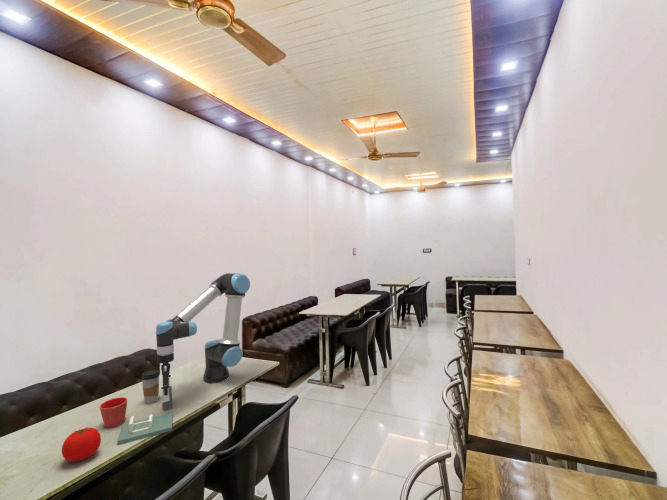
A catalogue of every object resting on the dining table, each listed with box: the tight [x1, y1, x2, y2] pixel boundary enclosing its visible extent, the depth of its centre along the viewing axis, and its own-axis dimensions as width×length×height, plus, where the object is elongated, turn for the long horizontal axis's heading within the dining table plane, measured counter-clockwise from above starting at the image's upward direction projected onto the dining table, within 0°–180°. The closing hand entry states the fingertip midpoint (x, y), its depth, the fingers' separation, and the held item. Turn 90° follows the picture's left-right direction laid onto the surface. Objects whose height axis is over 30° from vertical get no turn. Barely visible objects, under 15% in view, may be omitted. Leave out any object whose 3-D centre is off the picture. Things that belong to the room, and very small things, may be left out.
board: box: [116, 411, 173, 446], centre depth 142 cm, size 20×15×6 cm
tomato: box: [61, 426, 102, 463], centre depth 124 cm, size 12×12×10 cm
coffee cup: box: [141, 369, 160, 404], centre depth 170 cm, size 8×8×15 cm
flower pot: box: [99, 396, 128, 429], centre depth 149 cm, size 11×11×10 cm
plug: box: [161, 385, 173, 412], centre depth 161 cm, size 5×4×10 cm
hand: (166, 396), depth 161 cm, fingers open, 13 cm apart
